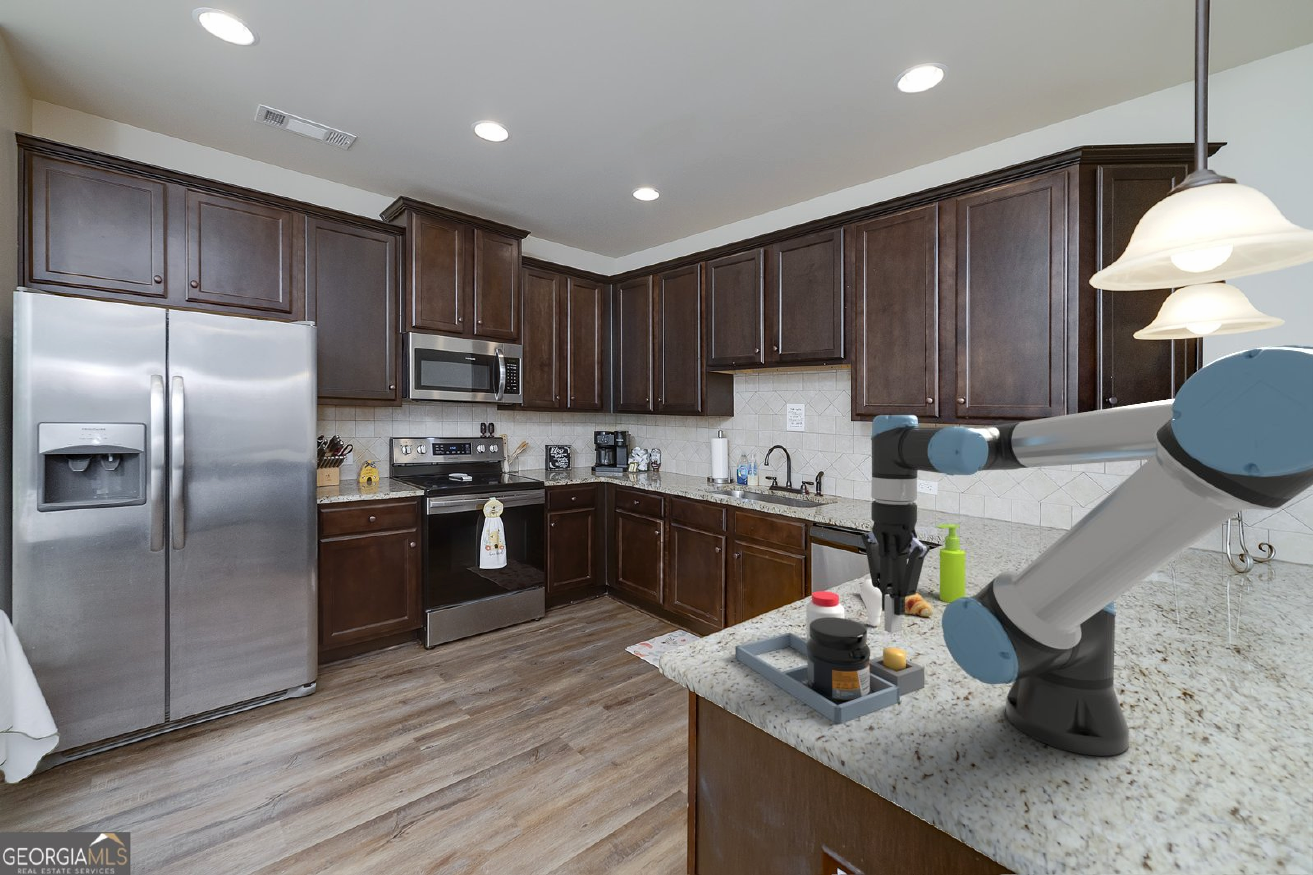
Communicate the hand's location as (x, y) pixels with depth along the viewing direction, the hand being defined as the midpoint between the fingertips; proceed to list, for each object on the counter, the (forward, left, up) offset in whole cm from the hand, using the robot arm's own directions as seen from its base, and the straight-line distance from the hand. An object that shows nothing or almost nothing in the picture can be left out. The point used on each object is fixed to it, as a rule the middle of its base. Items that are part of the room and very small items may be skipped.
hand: (893, 630), depth 99 cm
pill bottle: (+18, -1, -10) cm, 20 cm away
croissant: (+28, -34, -10) cm, 45 cm away
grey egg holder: (0, 0, -10) cm, 10 cm away
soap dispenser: (+24, -51, -10) cm, 57 cm away
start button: (0, 0, -7) cm, 7 cm away
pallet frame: (+9, +12, -10) cm, 17 cm away
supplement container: (+2, +12, -10) cm, 15 cm away
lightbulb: (+21, -19, -10) cm, 30 cm away
